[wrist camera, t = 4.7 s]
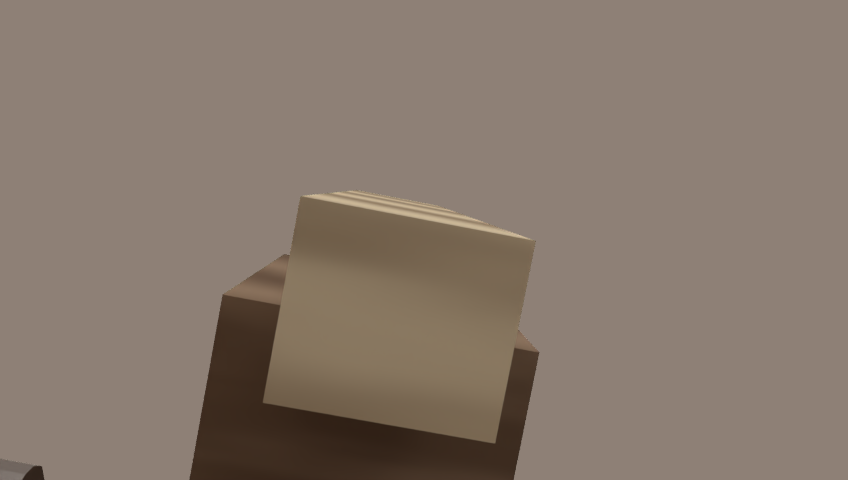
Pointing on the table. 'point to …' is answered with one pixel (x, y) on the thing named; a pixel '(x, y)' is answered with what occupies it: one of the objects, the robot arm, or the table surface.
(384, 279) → the maple bar
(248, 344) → the two step stand
